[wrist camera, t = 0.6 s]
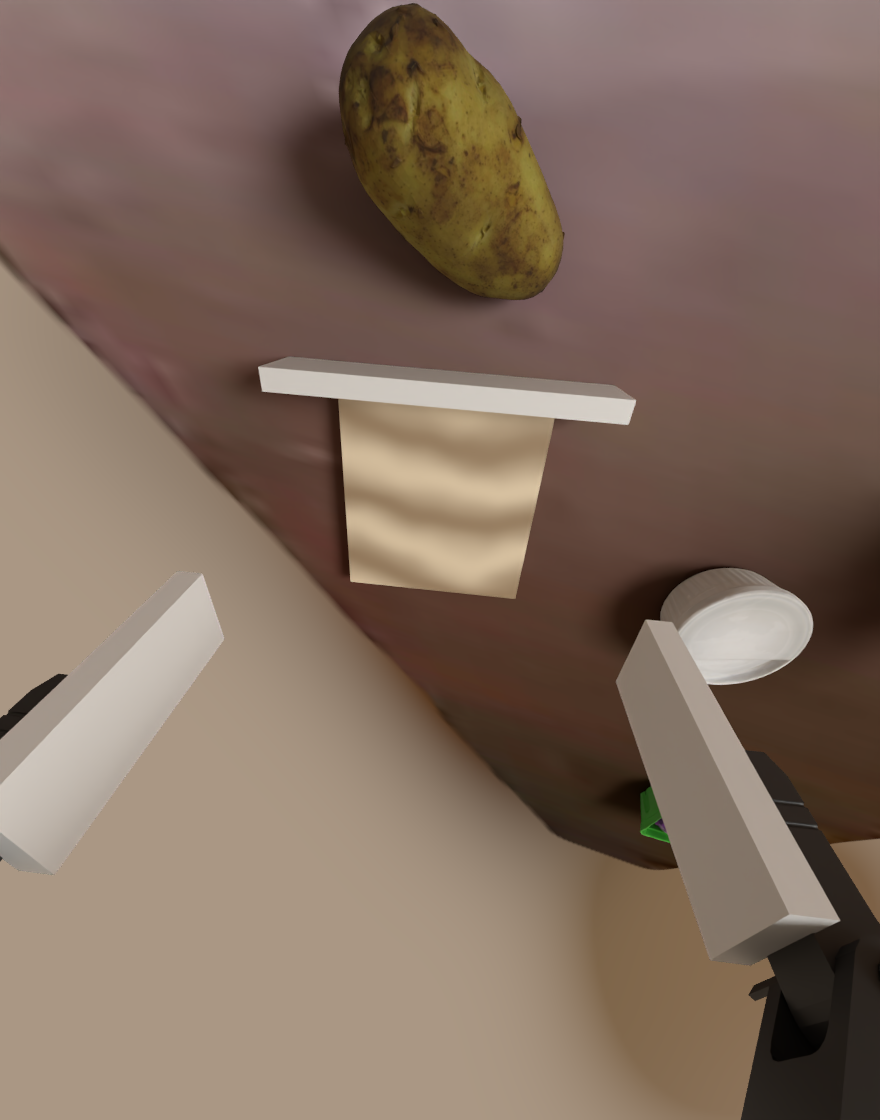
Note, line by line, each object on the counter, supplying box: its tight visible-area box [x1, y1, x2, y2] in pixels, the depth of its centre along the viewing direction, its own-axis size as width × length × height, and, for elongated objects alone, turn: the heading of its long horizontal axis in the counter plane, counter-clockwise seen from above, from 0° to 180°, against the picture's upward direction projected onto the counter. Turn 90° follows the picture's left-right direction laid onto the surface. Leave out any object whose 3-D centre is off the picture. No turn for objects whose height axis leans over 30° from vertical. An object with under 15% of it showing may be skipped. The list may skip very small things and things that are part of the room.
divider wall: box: [258, 357, 636, 425], centre depth 28 cm, size 2×24×5 cm, turn 86°
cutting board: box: [338, 398, 555, 599], centre depth 35 cm, size 17×16×2 cm
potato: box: [339, 3, 565, 300], centre depth 21 cm, size 8×13×8 cm, turn 32°
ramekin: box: [660, 568, 813, 685], centre depth 37 cm, size 11×11×5 cm
